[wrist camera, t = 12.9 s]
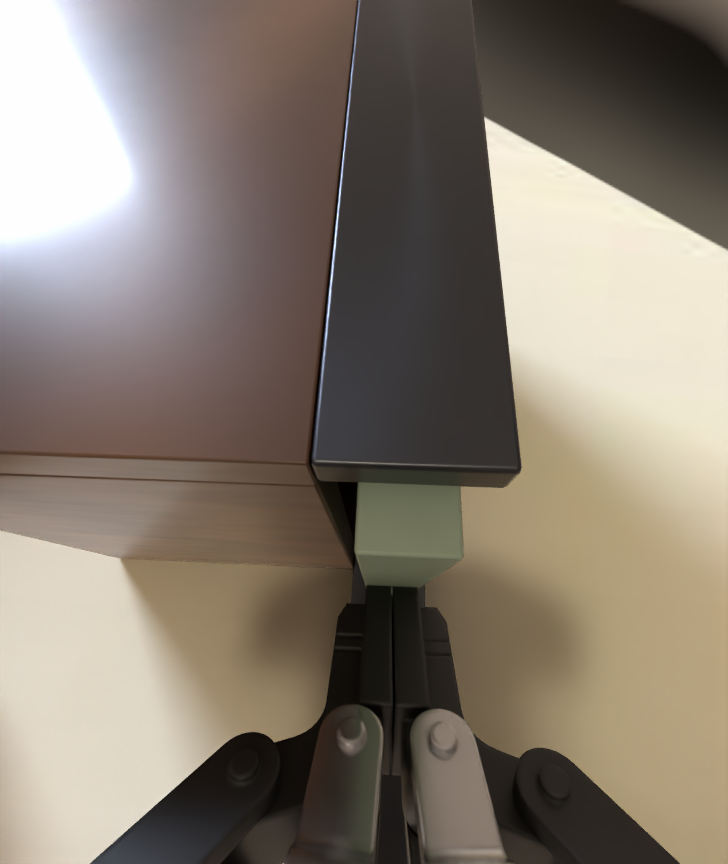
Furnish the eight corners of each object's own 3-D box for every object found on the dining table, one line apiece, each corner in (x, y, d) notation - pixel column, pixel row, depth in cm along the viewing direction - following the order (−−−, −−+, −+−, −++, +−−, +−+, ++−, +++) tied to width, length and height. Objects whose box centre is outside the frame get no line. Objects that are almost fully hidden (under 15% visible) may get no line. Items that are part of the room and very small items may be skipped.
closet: (370, 272, 24) (364, -71, 12) (354, 569, 17) (308, 464, 6) (196, 269, 24) (23, -65, 12) (118, 558, 18) (-396, 439, 6)
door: (418, 284, 22) (453, 15, 12) (420, 596, 16) (493, 561, 6) (380, 283, 22) (383, 16, 12) (367, 593, 16) (353, 554, 6)
